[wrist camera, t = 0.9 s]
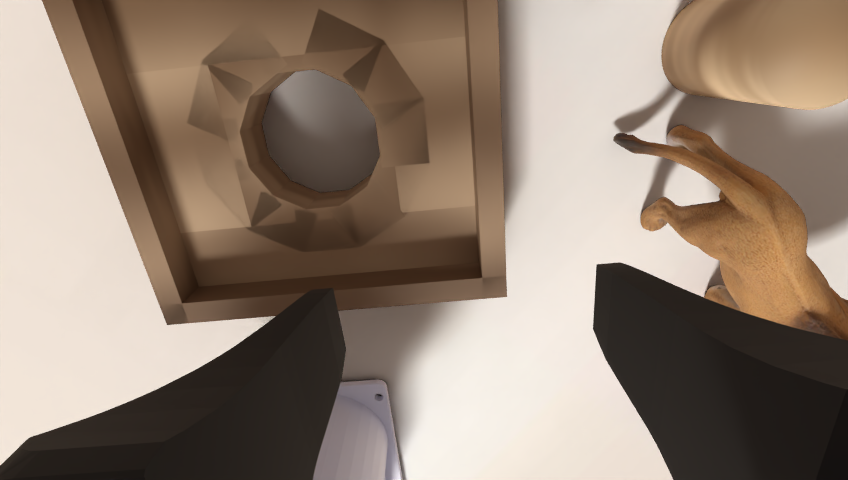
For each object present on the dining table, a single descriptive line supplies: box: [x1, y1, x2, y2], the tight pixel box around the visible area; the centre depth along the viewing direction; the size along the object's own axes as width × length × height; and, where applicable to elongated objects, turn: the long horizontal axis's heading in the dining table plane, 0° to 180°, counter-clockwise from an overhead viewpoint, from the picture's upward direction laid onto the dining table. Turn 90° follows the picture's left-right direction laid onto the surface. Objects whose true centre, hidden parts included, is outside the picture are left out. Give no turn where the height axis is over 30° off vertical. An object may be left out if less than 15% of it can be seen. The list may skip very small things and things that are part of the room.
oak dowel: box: [662, 0, 848, 110], centre depth 16 cm, size 4×4×6 cm
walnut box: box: [42, 0, 507, 325], centre depth 18 cm, size 14×15×4 cm
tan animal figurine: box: [614, 125, 848, 340], centre depth 18 cm, size 15×5×9 cm, turn 50°
